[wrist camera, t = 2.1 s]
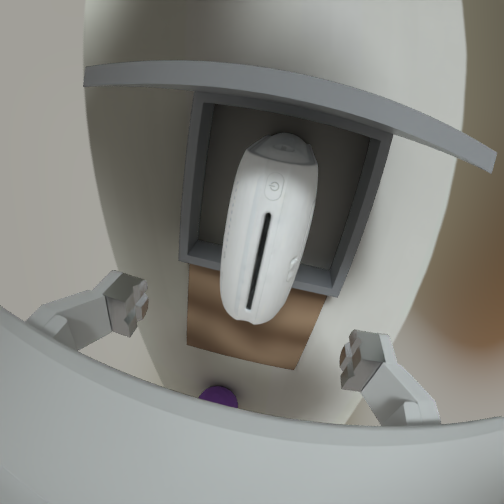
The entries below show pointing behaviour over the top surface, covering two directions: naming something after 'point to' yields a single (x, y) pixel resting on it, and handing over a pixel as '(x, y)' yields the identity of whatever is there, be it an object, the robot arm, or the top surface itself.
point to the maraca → (220, 396)
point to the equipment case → (297, 105)
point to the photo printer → (267, 226)
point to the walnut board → (249, 324)
